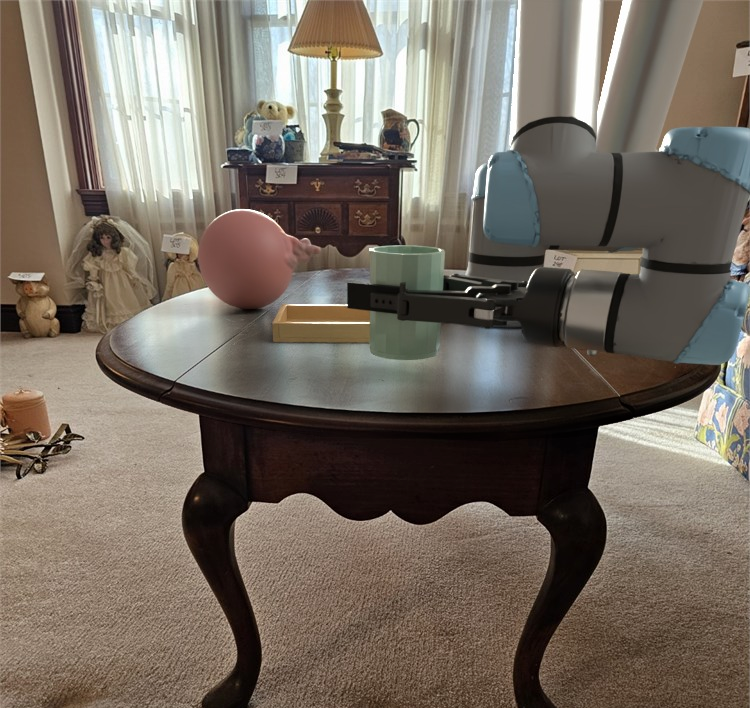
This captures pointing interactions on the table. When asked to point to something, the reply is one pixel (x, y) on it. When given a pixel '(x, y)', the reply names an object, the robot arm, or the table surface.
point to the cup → (419, 273)
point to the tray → (321, 324)
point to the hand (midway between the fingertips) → (368, 288)
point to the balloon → (249, 258)
